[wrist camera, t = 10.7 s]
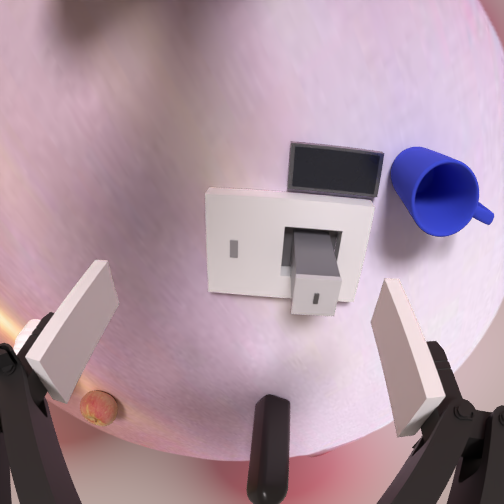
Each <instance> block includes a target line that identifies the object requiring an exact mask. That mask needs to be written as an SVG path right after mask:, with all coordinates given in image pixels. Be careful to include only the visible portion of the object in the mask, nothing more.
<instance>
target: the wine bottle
mask: <svg viewBox="0 0 504 504" xmlns="http://www.w3.org/2000/svg"><path fill="white" fill-rule="evenodd" d="M289 442H290V402H289V401H288V400H285V399H282V398H279V397H276V396H273V395H266V396H264V397H263V398H262V399H261V400H260V401H259V402H258V403H257V404H256V406H255V415H254V425H253V435H252V444H251V454H250V463H249V472H248V481H247V495H248V498H249V500H250V501H251V502H252V503H253V504H280V503H281V502H282V501H283V500H284V498H285V497H286V494H287V491H288V474H289V473H288V472H289Z"/></svg>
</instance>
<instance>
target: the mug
mask: <svg viewBox="0 0 504 504" xmlns="http://www.w3.org/2000/svg"><path fill="white" fill-rule="evenodd" d="M391 180H392V184H393V187H394V189H395V191H396V192H397V194H398V195H399V197H400V198H401V200H402V202H403V203H404V205H405V206H406V208H407V209H408V211H409V213H410V214H411V216H412V217H413V219H414V221H415V222H416V224H417V225H418V226H419V228H420V229H422V230H423V231H424V232H426V233H427V234H429V235H432V236H437V237H444V236H449V235H452V234H455V233H457V232H458V231H460V230H461V229H463V228H464V227H465V226H466V225H467V224H468V223H469V221H470V220H471V219H472V217H473V218H475V219H477V220H479V221H481V222H483V223H485V224H487V225H490V224H491V222H492V221H493V218H494V214H493V213H492V212H491V211H490V210H489V209H487V208H486V207H485V206H483V205H482V204H481V203H479V202H478V201H479V186H478V182H477V179H476V177H475V175H474V173H473V172H472V170H471V169H470V168H469V167H468V166H467V165H466V164H464V163H462V162H461V161H458V160H456V159H453V158H451V157H448V156H445V155H443V154H440V153H437V152H435V151H432V150H429V149H426V148H423V147H411V148H408V149H406V150H404V151H402V152H401V153H400V154H399V155H398V156H397V157H396V159H395V160H394V162H393V165H392V168H391Z"/></svg>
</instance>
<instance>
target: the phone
mask: <svg viewBox="0 0 504 504" xmlns="http://www.w3.org/2000/svg"><path fill="white" fill-rule="evenodd" d="M383 158H384V153H383V152H379V151H373V150H366V149H358V148H350V147H342V146H334V145H325V144H315V143H304V142H292V141H291V144H290V158H289V171H288V184H287V188H288V189H300V190H312V191H323V192H333V193H343V194H353V195H362V196H370V197H377V194H378V189H379V183H380V177H381V171H382V164H383Z"/></svg>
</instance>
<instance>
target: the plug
mask: <svg viewBox="0 0 504 504" xmlns="http://www.w3.org/2000/svg"><path fill="white" fill-rule="evenodd" d="M290 263H291V306H292V307H291V314H299V315H316V316H334V314H335V310H336V305H337V301H338V297H339V293H340V288H341V284H342V278H341V277H340V273H339V269H338V265H337V261H336V257H335V254H334V250H333V246H332V242H331V239H330V235H329V232H326V231H314V230H301V229H294V230H293V240H292V249H291V259H290Z"/></svg>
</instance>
